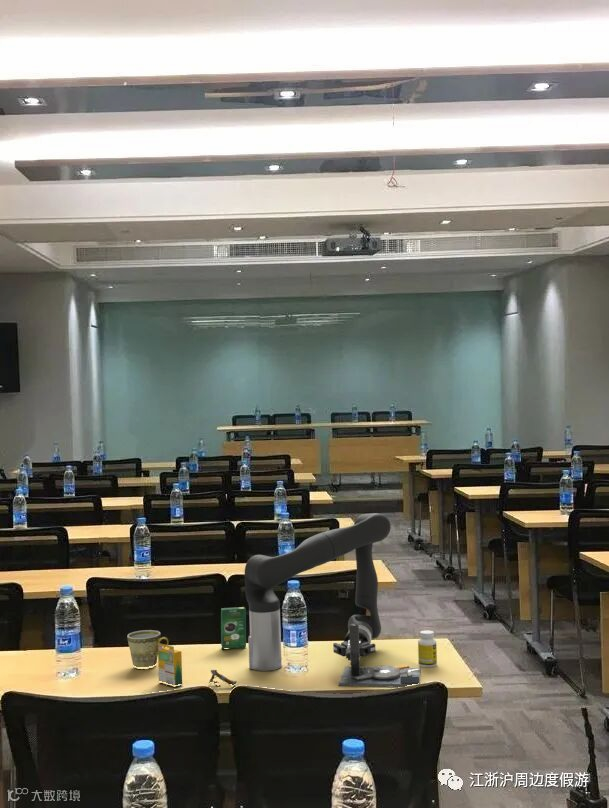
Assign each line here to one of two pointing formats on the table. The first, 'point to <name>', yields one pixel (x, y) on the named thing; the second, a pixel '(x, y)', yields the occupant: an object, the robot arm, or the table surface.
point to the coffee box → (233, 627)
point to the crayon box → (169, 665)
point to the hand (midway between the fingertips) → (350, 656)
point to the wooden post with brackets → (220, 678)
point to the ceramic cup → (144, 647)
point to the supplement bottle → (427, 649)
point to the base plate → (405, 678)
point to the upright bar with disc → (373, 672)
